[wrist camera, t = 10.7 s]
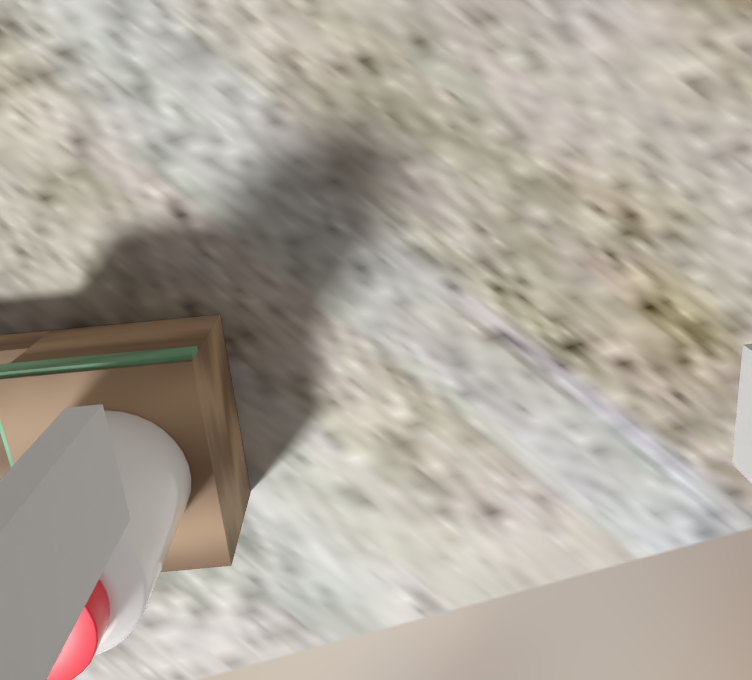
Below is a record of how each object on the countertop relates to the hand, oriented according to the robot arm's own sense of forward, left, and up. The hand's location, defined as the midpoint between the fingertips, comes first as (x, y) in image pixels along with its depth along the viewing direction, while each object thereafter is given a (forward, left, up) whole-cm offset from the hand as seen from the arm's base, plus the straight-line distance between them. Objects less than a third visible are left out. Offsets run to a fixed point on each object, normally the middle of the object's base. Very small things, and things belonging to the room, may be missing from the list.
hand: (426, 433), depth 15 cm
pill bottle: (+11, -15, -19) cm, 27 cm away
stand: (+11, -20, -27) cm, 35 cm away
